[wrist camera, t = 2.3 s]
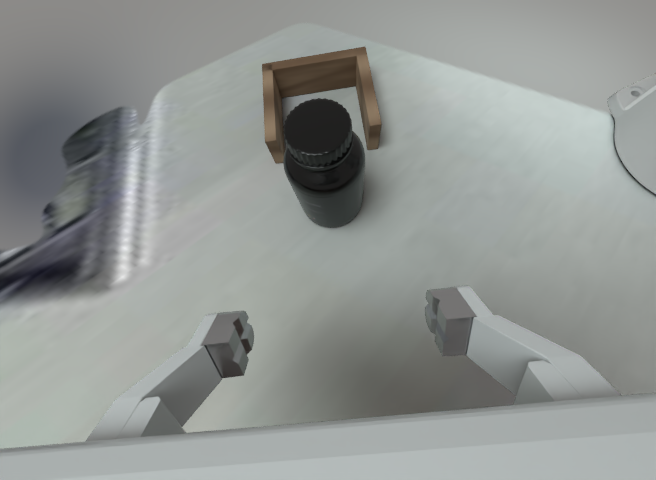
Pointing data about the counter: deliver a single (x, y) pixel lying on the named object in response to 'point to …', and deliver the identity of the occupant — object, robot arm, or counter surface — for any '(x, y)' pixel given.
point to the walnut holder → (318, 90)
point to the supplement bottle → (324, 162)
